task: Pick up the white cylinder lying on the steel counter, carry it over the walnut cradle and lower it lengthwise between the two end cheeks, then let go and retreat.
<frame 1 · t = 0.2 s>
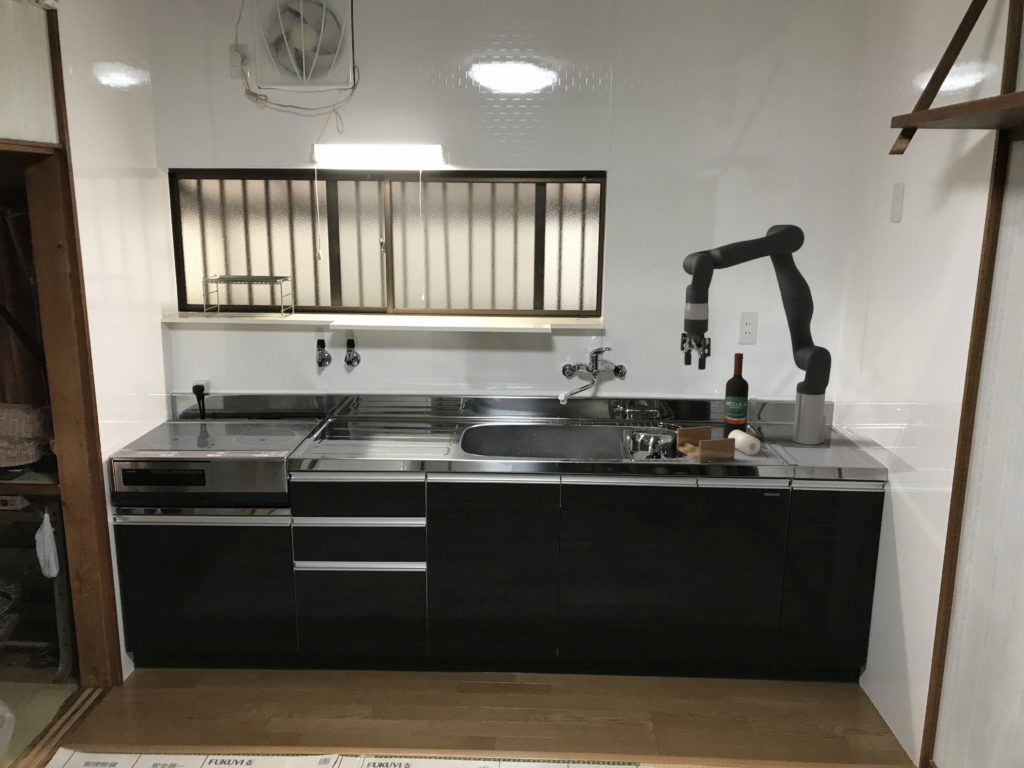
hand: (694, 367, 242), 28 cm above the worktop, fingers open, 8 cm apart
walnut cradle: (704, 454, 246), on the worktop
wine bottle: (734, 438, 263), on the worktop
white cylinder: (743, 451, 249), on the worktop
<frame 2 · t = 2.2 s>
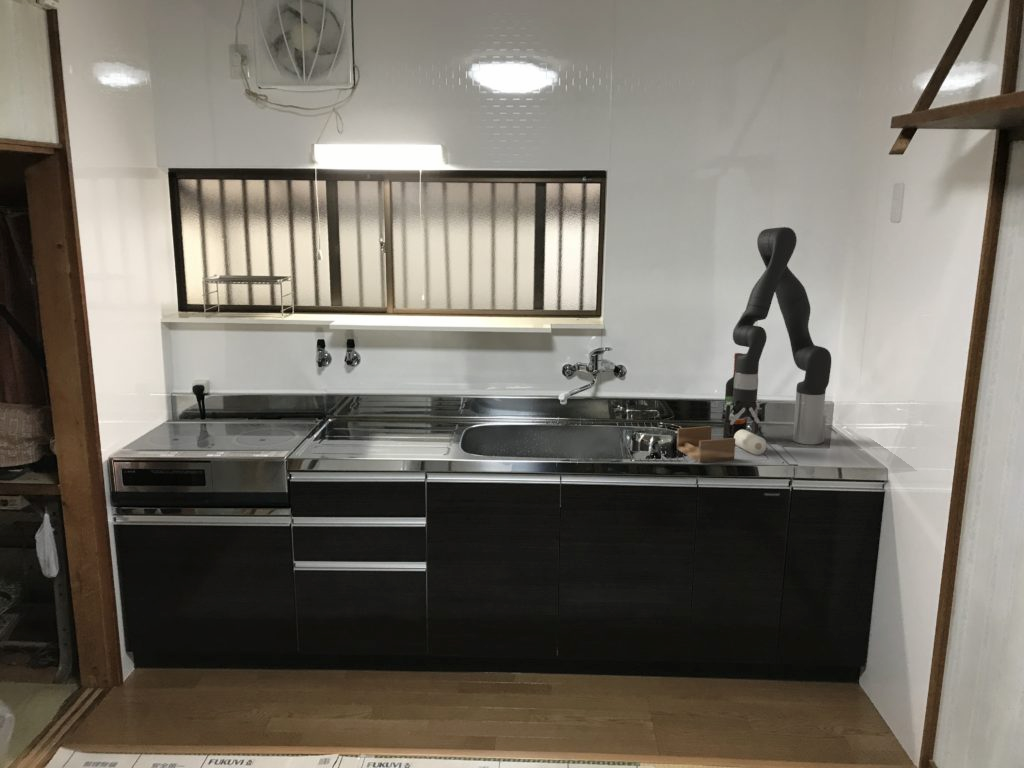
hand: (742, 434, 248), 6 cm above the worktop, fingers open, 8 cm apart
white cylinder: (743, 448, 249), point 1 cm above the worktop, tilted 46°, touching gripper
everything else where it was.
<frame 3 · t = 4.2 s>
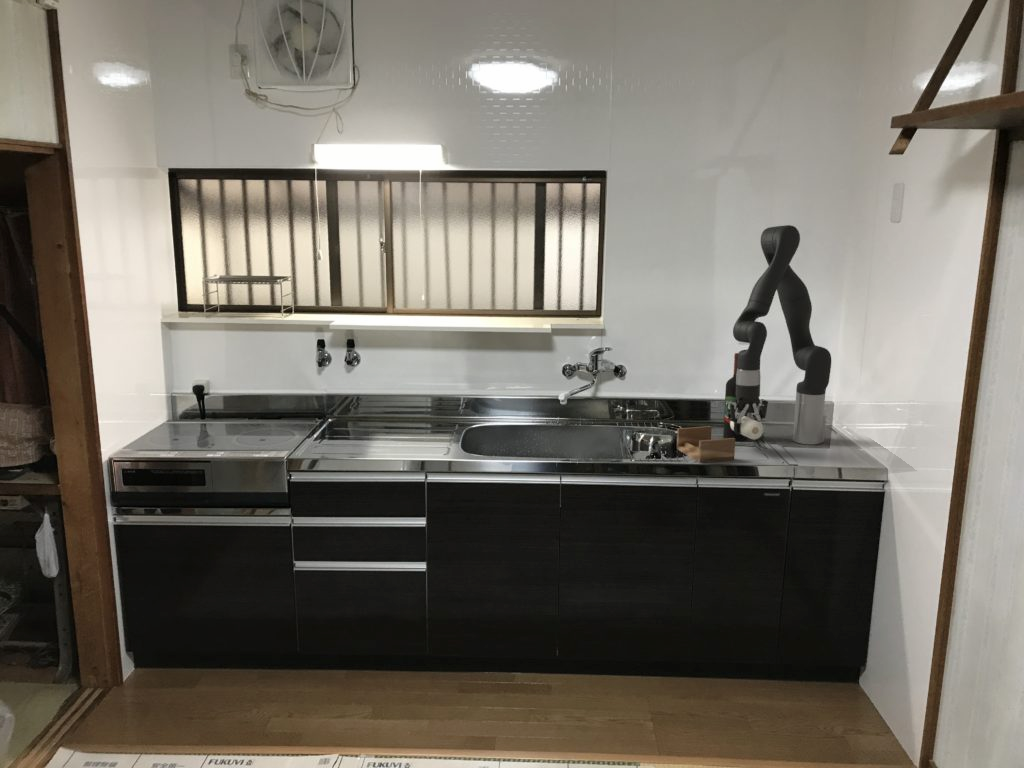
hand: (746, 432, 247), 6 cm above the worktop, fingers closed on white cylinder, 6 cm apart
white cylinder: (740, 433, 247), point 6 cm above the worktop, tilted 42°, touching gripper
everything else where it was.
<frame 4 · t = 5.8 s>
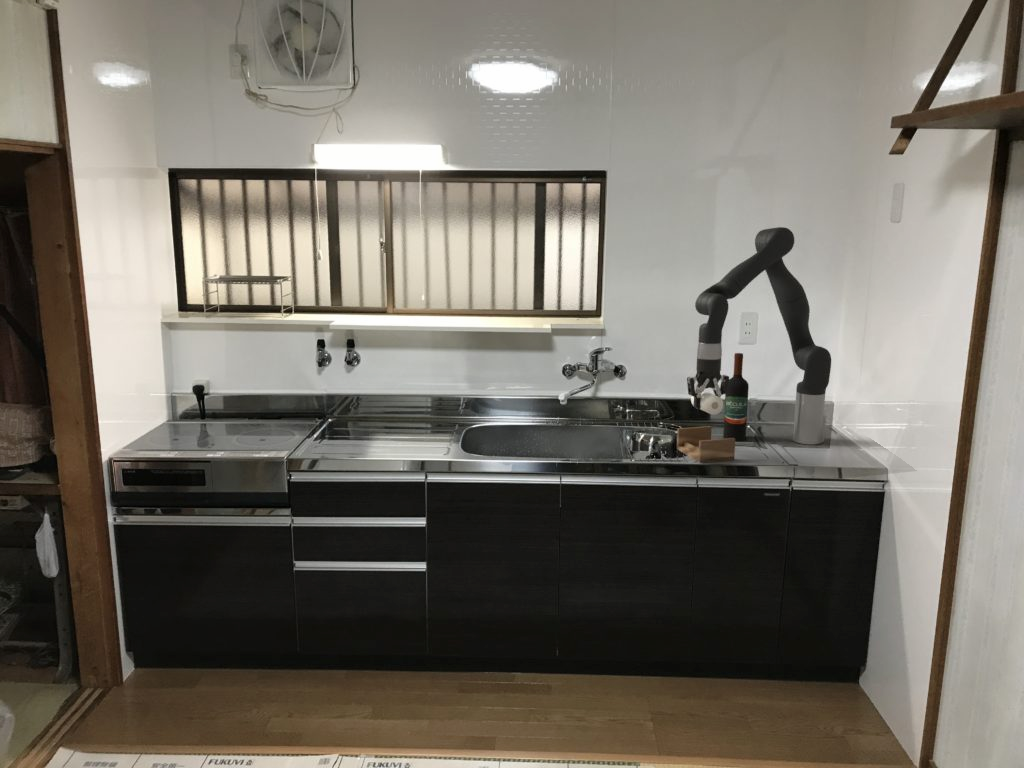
hand: (706, 407, 242), 16 cm above the worktop, fingers closed on white cylinder, 6 cm apart
white cylinder: (700, 408, 242), point 15 cm above the worktop, tilted 44°, touching gripper
everything else where it was.
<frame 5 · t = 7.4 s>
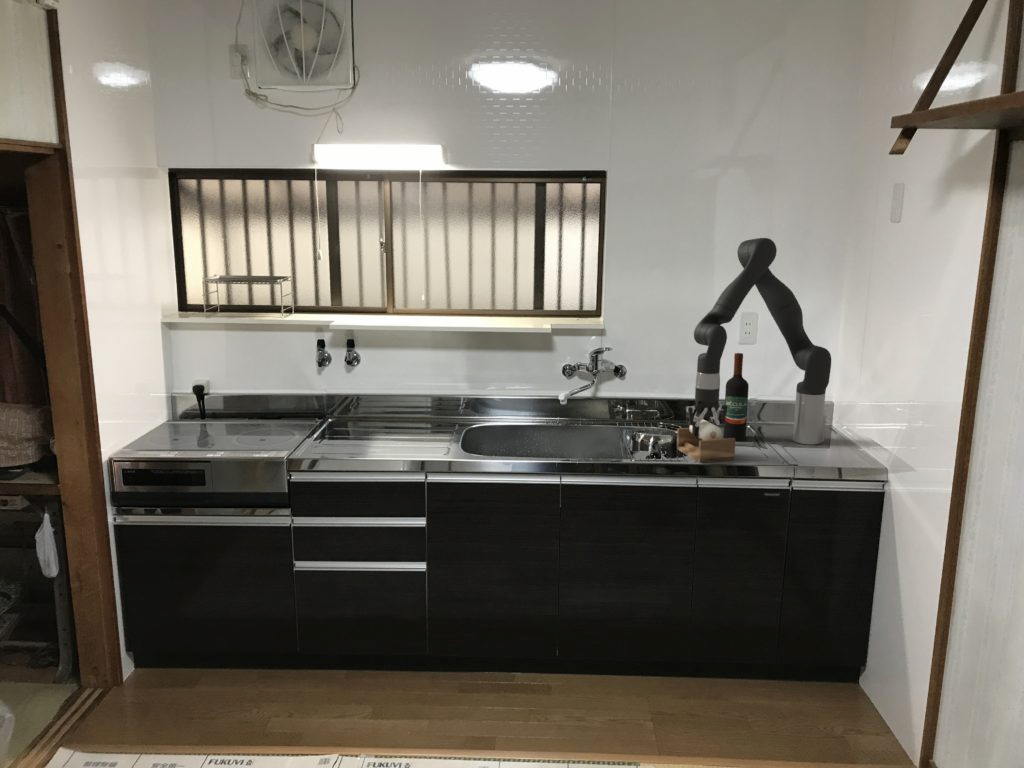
hand: (705, 436, 244), 6 cm above the worktop, fingers closed on white cylinder, 6 cm apart
white cylinder: (699, 437, 244), point 6 cm above the worktop, tilted 44°, touching gripper
everything else where it was.
when the fingers open (4 cm above the worktop, at t = 8.5 s): white cylinder drops 1 cm, resting on walnut cradle.
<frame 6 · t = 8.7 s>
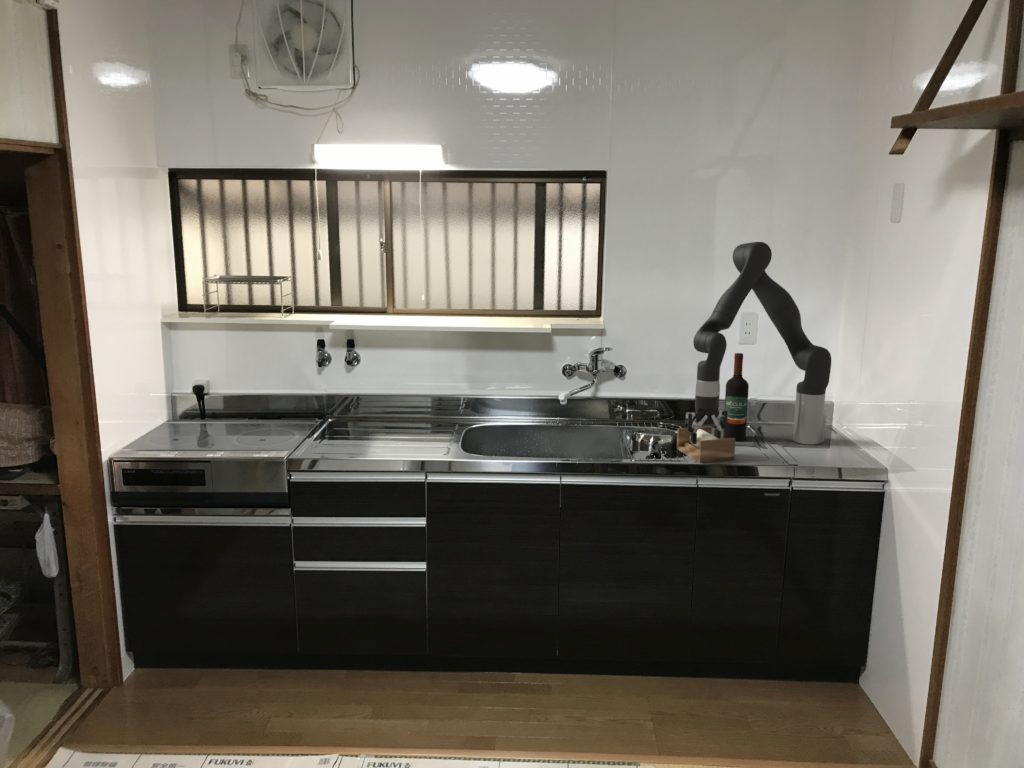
hand: (705, 442, 245), 4 cm above the worktop, fingers open, 7 cm apart
white cylinder: (699, 448, 245), point 2 cm above the worktop, tilted 44°, touching walnut cradle
everything else where it was.
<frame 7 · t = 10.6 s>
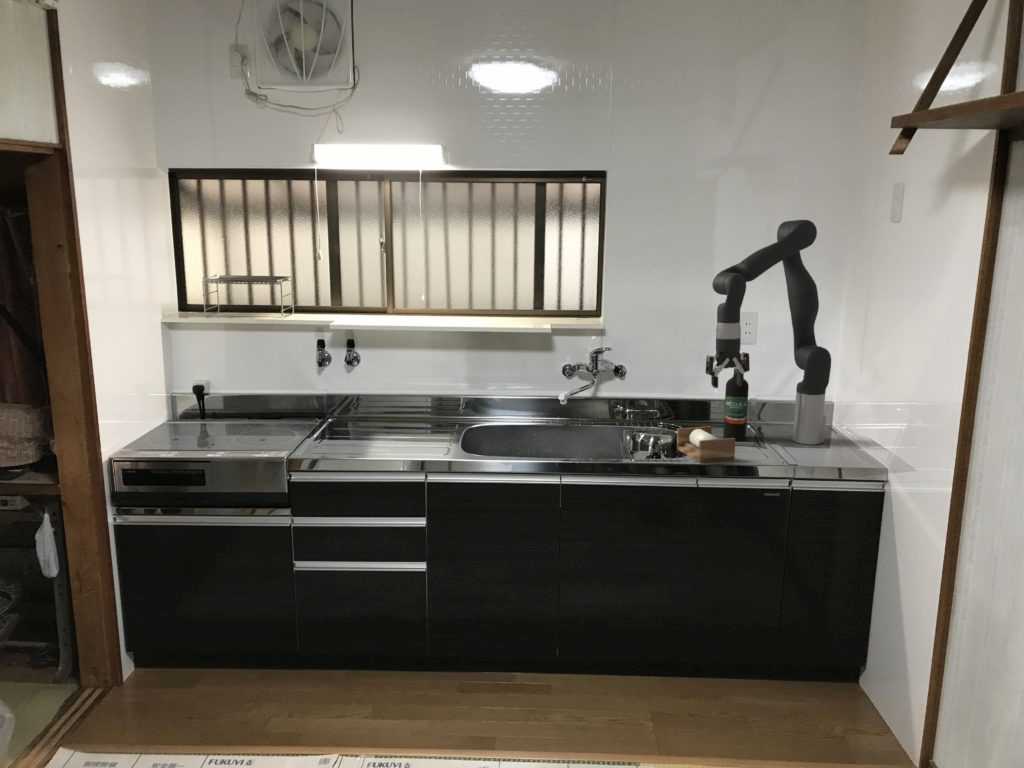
hand: (727, 386, 241), 22 cm above the worktop, fingers open, 8 cm apart
nothing on the worktop moved.
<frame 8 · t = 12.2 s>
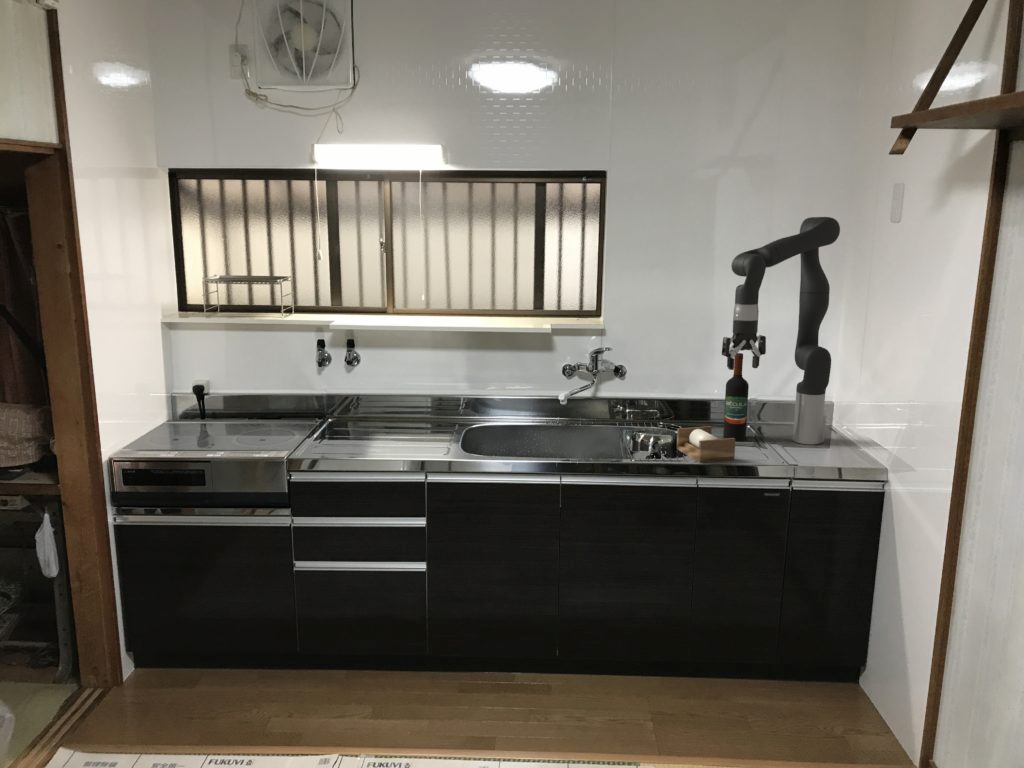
hand: (742, 368, 241), 28 cm above the worktop, fingers open, 8 cm apart
nothing on the worktop moved.
at the end: white cylinder inside the target area on the walnut cradle (2.0 cm from its centre), point 1.9 cm above the walnut cradle's base; the gripper is holding nothing; white cylinder touching walnut cradle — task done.
